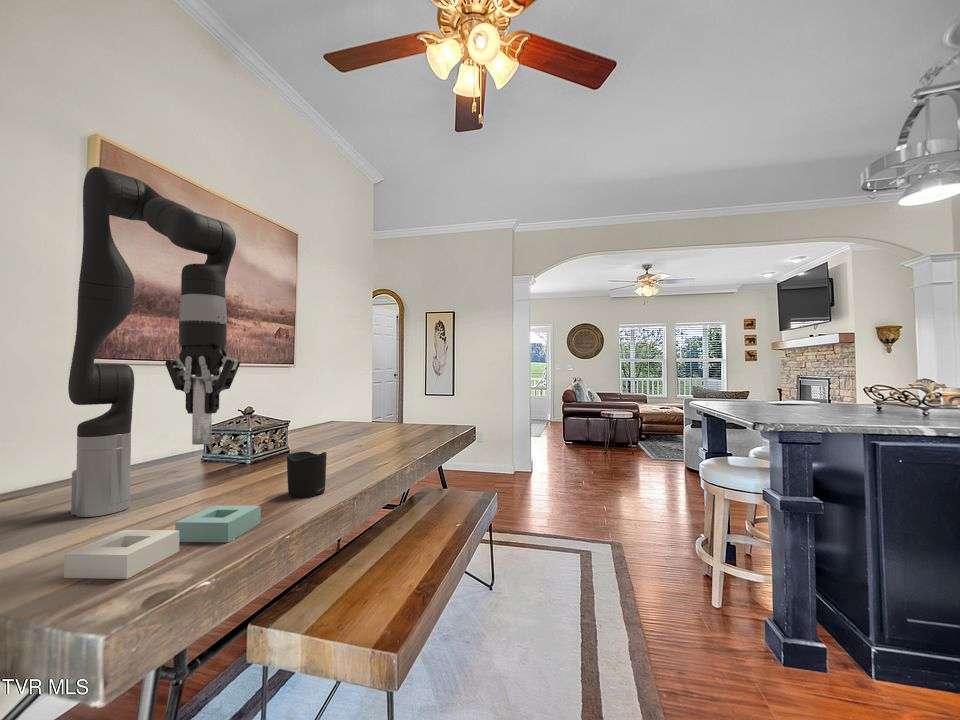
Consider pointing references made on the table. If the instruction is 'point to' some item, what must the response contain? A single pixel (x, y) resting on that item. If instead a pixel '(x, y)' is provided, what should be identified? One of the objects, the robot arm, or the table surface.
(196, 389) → the gray rectangular bar
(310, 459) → the pen holder
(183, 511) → the table surface
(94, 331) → the robot arm
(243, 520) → the block
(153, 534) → the socket block
